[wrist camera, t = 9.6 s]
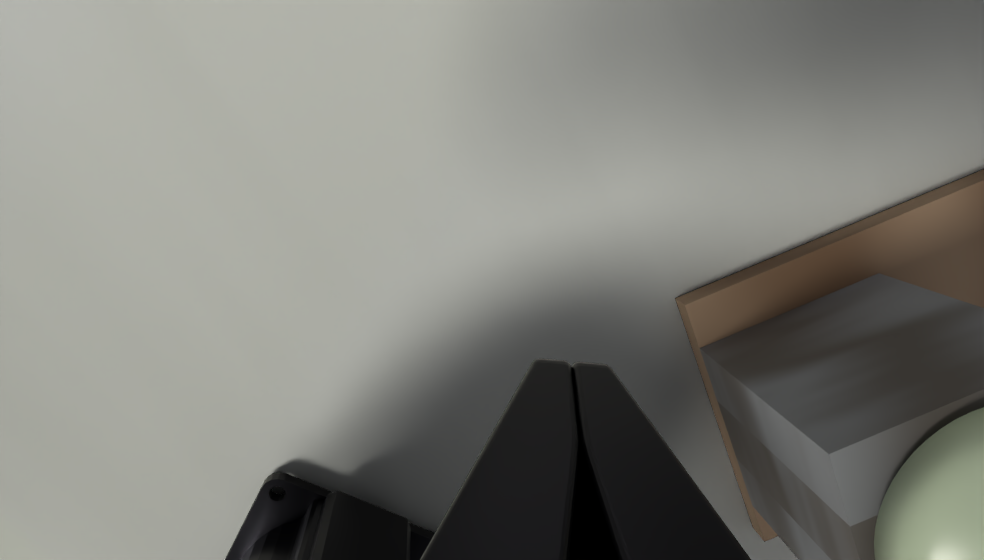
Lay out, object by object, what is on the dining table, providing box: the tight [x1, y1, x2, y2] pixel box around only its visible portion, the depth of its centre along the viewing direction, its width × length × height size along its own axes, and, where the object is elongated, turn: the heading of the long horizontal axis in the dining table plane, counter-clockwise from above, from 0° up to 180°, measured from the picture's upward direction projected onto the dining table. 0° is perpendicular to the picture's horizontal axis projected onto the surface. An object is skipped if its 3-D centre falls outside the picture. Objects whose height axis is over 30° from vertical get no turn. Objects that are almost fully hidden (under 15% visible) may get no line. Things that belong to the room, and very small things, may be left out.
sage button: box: [874, 407, 984, 560], centre depth 16 cm, size 6×6×5 cm
